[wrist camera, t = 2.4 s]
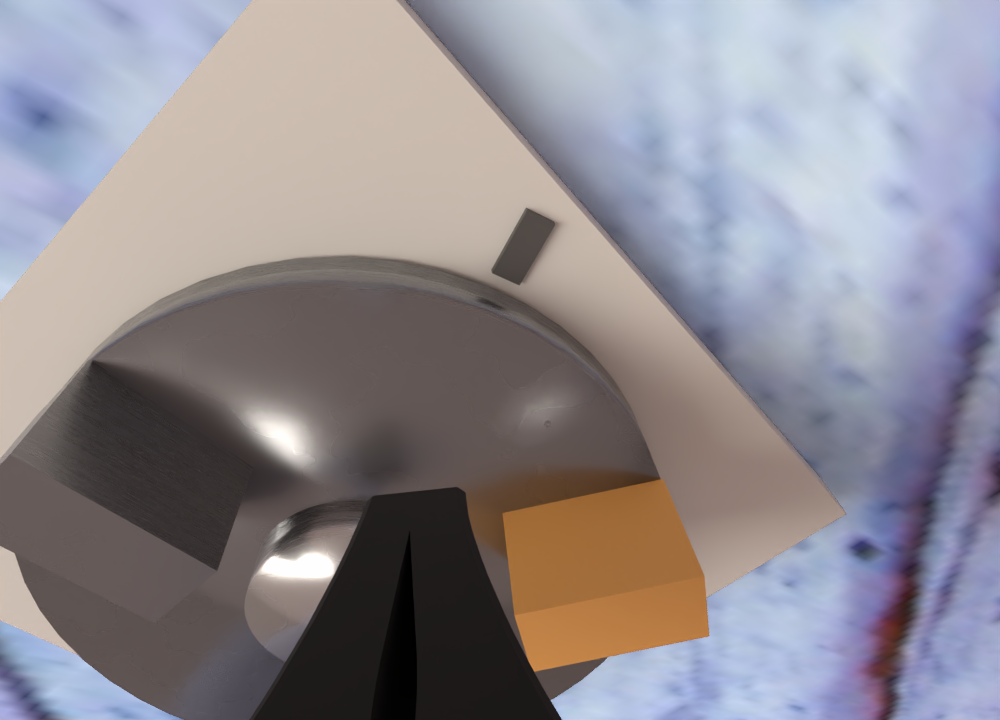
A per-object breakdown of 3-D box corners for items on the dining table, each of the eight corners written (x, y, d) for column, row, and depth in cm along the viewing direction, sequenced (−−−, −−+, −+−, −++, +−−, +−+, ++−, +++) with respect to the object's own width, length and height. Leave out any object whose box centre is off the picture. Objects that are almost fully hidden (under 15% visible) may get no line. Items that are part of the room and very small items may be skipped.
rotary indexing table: (758, 520, 20) (836, 661, 16) (378, 756, 25) (368, 910, 21) (332, 93, 13) (289, 158, 9) (-80, 536, 18) (-226, 704, 14)
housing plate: (822, 480, 22) (849, 518, 20) (384, 753, 28) (381, 798, 26) (333, -81, 13) (321, -84, 12) (-151, 493, 19) (-200, 539, 17)
